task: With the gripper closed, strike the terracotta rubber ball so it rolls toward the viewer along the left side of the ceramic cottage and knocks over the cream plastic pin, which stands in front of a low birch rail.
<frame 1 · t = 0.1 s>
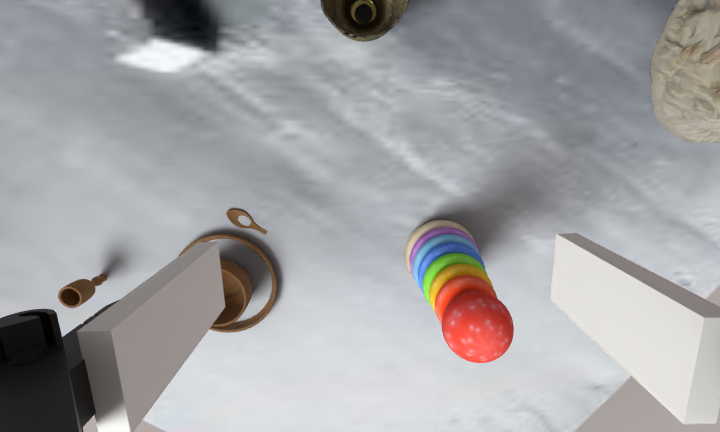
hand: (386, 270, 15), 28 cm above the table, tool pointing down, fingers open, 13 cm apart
cup: (363, 14, 39), on the table
place setting: (197, 263, 46), on the table
stacking toy: (438, 251, 44), on the table
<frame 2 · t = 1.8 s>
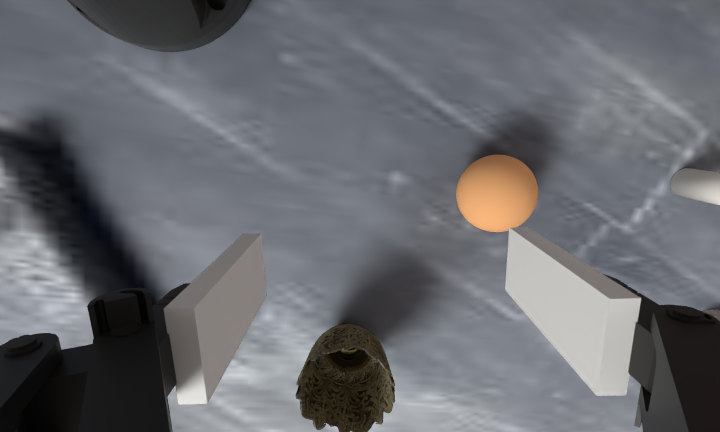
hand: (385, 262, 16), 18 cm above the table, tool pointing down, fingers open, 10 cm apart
cup: (349, 336, 37), on the table
pin: (684, 182, 33), on the table
ball: (495, 193, 30), on the table
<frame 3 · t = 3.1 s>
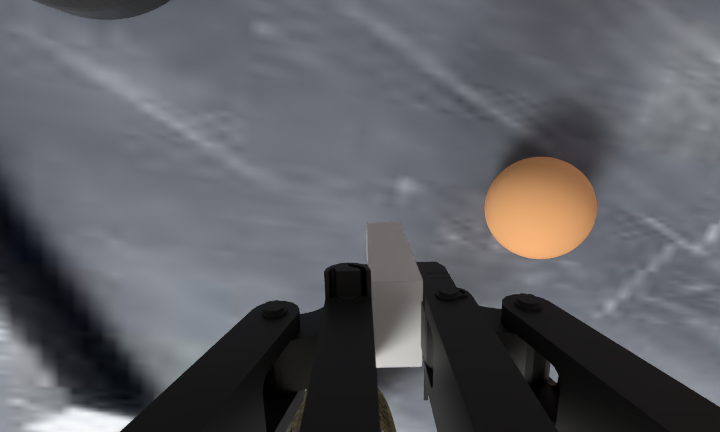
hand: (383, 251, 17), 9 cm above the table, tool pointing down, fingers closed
cup: (345, 381, 30), on the table
ball: (537, 207, 23), on the table
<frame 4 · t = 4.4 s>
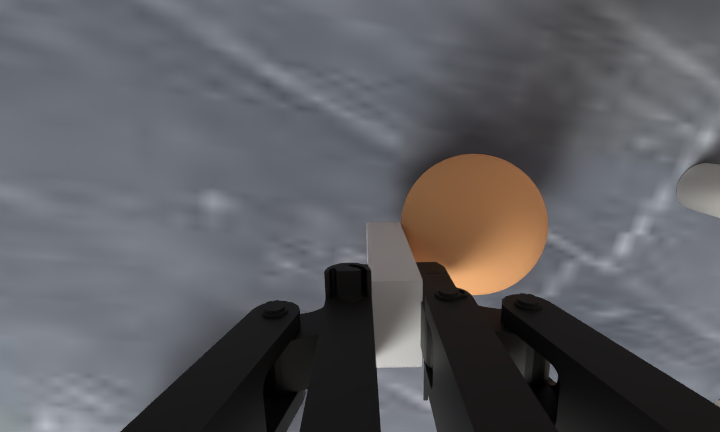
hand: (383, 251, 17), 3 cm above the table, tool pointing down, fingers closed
pin: (700, 186, 20), on the table
ball: (470, 224, 17), on the table
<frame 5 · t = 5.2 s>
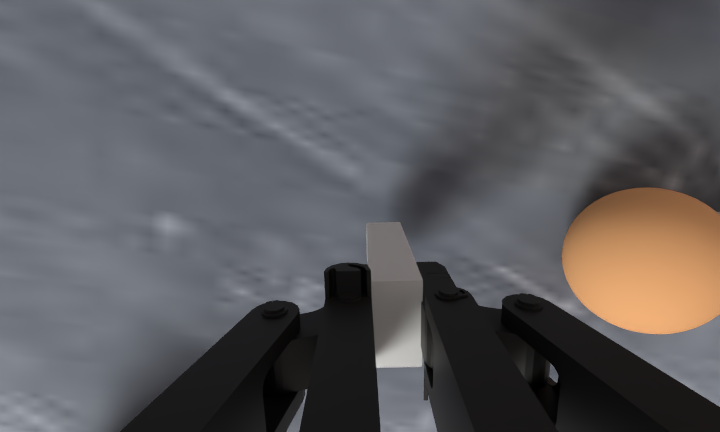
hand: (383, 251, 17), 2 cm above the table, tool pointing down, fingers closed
ball: (642, 259, 16), on the table
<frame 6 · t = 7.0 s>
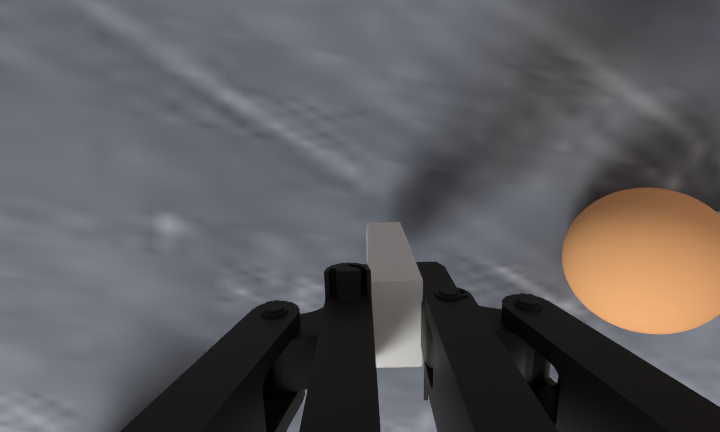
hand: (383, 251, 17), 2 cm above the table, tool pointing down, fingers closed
ball: (642, 259, 16), on the table
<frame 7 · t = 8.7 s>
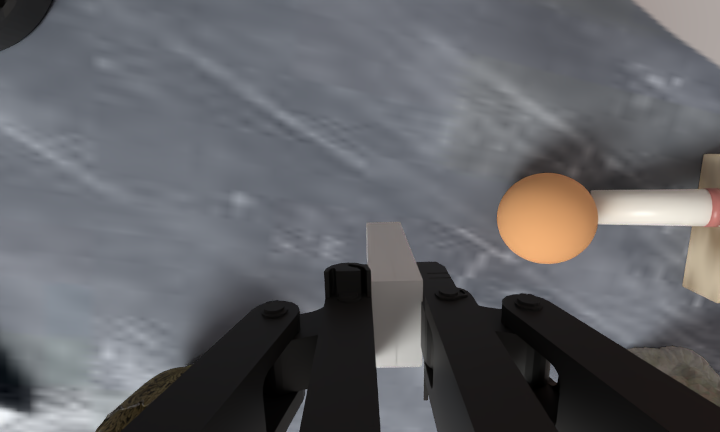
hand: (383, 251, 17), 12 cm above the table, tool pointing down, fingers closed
cup: (202, 377, 32), on the table
stopper rail: (706, 222, 29), on the table
pin: (591, 207, 27), point 1 cm above the table, tilted 69°, touching stopper rail
ball: (545, 218, 26), on the table
ceramic cottage: (672, 429, 33), on the table
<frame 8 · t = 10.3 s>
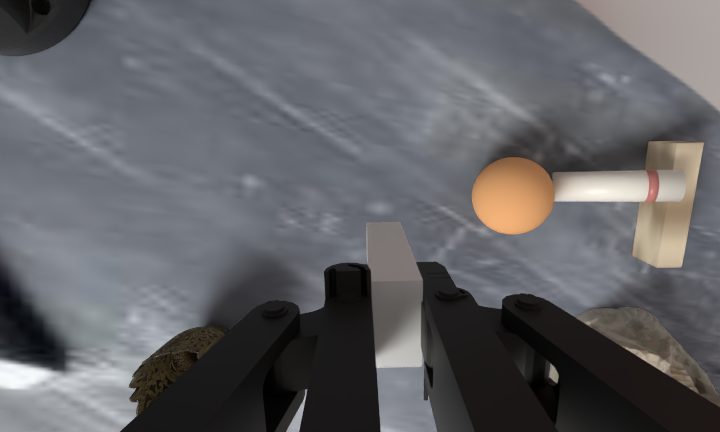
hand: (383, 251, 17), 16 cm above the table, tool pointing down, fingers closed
cup: (217, 338, 37), on the table
stopper rail: (651, 200, 33), on the table
pin: (552, 186, 32), point 1 cm above the table, tilted 69°, touching stopper rail
ball: (511, 195, 30), on the table
ceramic cottage: (629, 379, 38), on the table
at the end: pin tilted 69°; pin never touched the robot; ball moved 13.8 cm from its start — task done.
